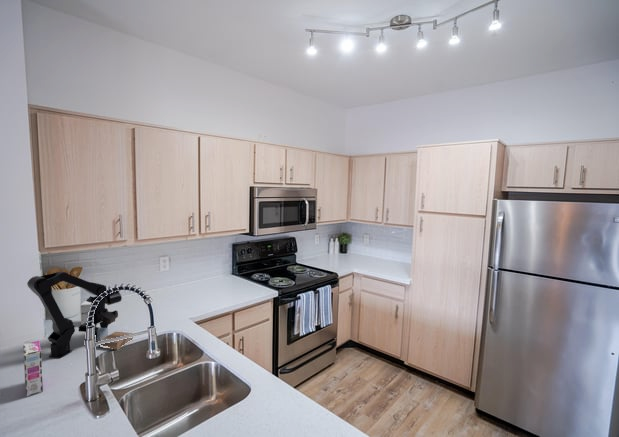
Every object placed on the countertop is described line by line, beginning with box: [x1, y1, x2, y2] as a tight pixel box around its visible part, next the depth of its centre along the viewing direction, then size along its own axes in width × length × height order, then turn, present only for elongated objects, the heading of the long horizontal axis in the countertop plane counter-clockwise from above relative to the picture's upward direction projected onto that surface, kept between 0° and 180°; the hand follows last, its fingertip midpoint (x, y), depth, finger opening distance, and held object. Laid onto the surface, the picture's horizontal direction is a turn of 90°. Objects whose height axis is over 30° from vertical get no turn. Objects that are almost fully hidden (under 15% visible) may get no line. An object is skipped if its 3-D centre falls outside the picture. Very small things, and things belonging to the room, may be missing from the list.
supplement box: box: [80, 300, 91, 325], centre depth 175 cm, size 7×7×13 cm
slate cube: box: [95, 327, 109, 342], centre depth 157 cm, size 5×5×5 cm
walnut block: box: [98, 331, 134, 351], centre depth 152 cm, size 10×10×4 cm
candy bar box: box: [23, 340, 44, 398], centre depth 117 cm, size 11×5×16 cm, turn 44°
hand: (99, 337), depth 157 cm, fingers open, 5 cm apart
